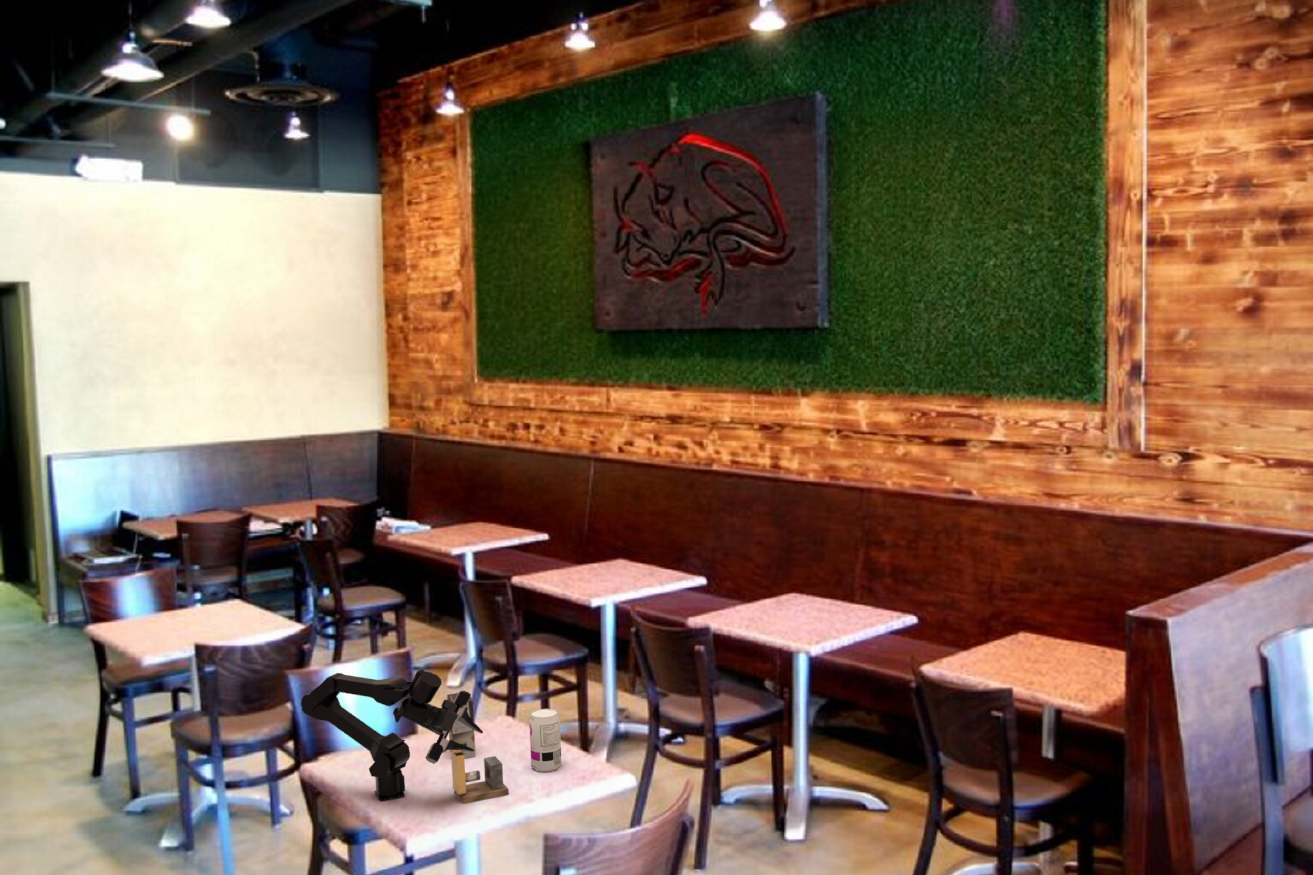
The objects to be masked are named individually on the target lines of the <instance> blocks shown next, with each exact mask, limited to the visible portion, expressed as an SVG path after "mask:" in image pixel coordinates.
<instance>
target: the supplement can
mask: <svg viewBox="0 0 1313 875" xmlns="http://www.w3.org/2000/svg"><path fill="white" fill-rule="evenodd" d="M530 714H531V715H530V716H529V719H528V720H529V742H530V745H529V746H530V747H529V748H530V766H531V768H532V769H533V770H535V771H536V772H541V773H544V772H545V773H546V772H547V773H548V772H553V771H556V770H559V768H560V767H561V765H562V744H561V720H560V715H559V713H558V711H557V710H555V709H551V708H541V709H536V710H533V711H532V712H531V713H530Z"/></svg>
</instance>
